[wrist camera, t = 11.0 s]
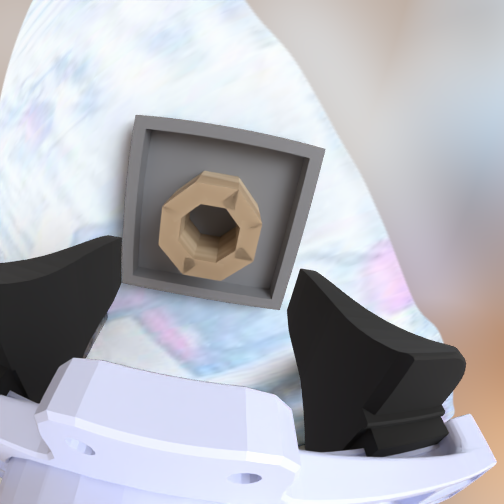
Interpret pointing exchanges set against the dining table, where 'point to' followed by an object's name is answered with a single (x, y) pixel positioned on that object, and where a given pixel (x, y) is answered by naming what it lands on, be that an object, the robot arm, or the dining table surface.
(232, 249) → the ring
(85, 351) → the stake
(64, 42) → the dining table surface
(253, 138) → the tray
